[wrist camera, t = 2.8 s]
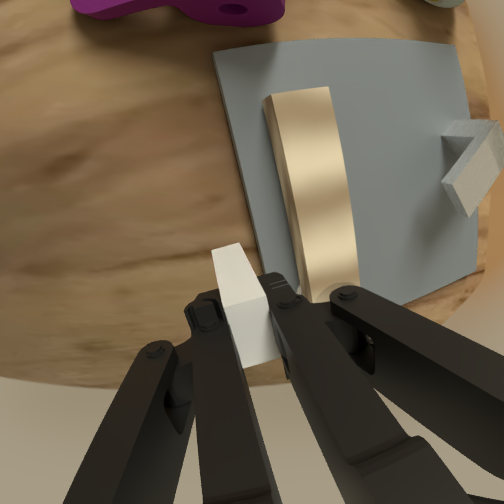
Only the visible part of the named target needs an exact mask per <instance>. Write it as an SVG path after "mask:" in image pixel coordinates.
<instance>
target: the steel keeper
mask: <svg viewBox="0 0 504 504" xmlns="http://www.w3.org/2000/svg"><path fill="white" fill-rule="evenodd" d="M441 137H442V138H443V140H444V142H445V143H446V145H447V147H448V149H449V151H450V152H451V154H452V156H453V158H454V160H455V162H456V163H455V164H454V166H453V167H452V168H451V169H450V171H449V172H448V173H447V175H446V176H445V177H444V178H443V180H442V181H441V183H442V185H443V187H444V189H445V191H446V192H447V194H448V196H449V198H450V200H451V202H452V204H453V206H454V207H455V209H456V211H457V213H458V215H461V216H464V217H467V218H469V217H470V216H471V215H472V213H473V212H474V210H475V209H476V208H477V206H478V205H479V203H480V202H481V201H482V199H483V198H484V196H485V195H486V193H487V192H488V190H489V189H490V187H491V186H492V184H493V183H494V181H495V179H496V178H497V176H498V175H499V173H500V172H501V170H502V169H503V167H504V133H503V131H502V129H501V126H500V124H499V122H498V120H453V121H452V122H451V124H450V125H449V126H448V127H447V129H446V130H445V131H444V132H443V134H442V135H441Z"/></svg>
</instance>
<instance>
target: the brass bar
mask: <svg viewBox="0 0 504 504" xmlns="http://www.w3.org/2000/svg"><path fill="white" fill-rule="evenodd" d="M262 104H263V108H264V112H265V116H266V121H267V125H268V129H269V134H270V138H271V142H272V147H273V151H274V156H275V160H276V165H277V169H278V174H279V179H280V183H281V188H282V193H283V198H284V203H285V207H286V212H287V217H288V222H289V227H290V232H291V237H292V242H293V248H294V253H295V258H296V263H297V269H298V274H299V280H300V285H301V291H302V292H301V295H303V296H304V297H306V298H307V300H308V301H309V302H310V303H321V302H328V301H330V299H329V295H330V294H331V292H332V291H334V290H335V289H337V288H340V287H342V286H346V285H353V286H359V287H360V278H359V268H358V258H357V249H356V240H355V232H354V224H353V216H352V209H351V202H350V195H349V189H348V183H347V177H346V171H345V165H344V159H343V154H342V148H341V143H340V138H339V133H338V128H337V123H336V118H335V113H334V109H333V104H332V100H331V96H330V91H329V87H328V86H327V87H318V88H310V89H302V90H295V91H288V92H282V93H276V94H271V95H269V96H268V97H266V98H265V99H263V100H262Z"/></svg>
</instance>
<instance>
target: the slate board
mask: <svg viewBox="0 0 504 504" xmlns="http://www.w3.org/2000/svg"><path fill="white" fill-rule="evenodd" d="M212 59H213V63H214V67H215V71H216V75H217V80H218V84H219V88H220V92H221V96H222V100H223V104H224V108H225V113H226V117H227V121H228V125H229V129H230V133H231V138H232V142H233V146H234V150H235V154H236V158H237V163H238V167H239V171H240V175H241V179H242V184H243V188H244V192H245V196H246V200H247V205H248V209H249V213H250V217H251V222H252V226H253V230H254V234H255V239H256V243H257V247H258V251H259V256H260V260H261V264H262V269H263V273H264V274H268V273H271V272H277V273H280V274H282V275H283V276H284V278H285V279H286V280H287V282H288V283H289V284H290V286H291V287H292V289H293V290H294V291H295V293H296V290H297V287H298V284H299V282H300V280H299V274H298V269H297V263H296V258H295V253H294V248H293V242H292V237H291V232H290V227H289V222H288V217H287V212H286V207H285V203H284V198H283V193H282V188H281V183H280V179H279V174H278V169H277V165H276V160H275V156H274V151H273V147H272V142H271V138H270V134H269V129H268V125H267V121H266V116H265V112H264V108H263V104H262V100H263V99H265V98H266V97H268V96H269V95H271V94H276V93H282V92H288V91H295V90H302V89H310V88H318V87H327V86H328V87H329V91H330V96H331V100H332V104H333V109H334V113H335V118H336V123H337V128H338V133H339V138H340V143H341V148H342V154H343V159H344V165H345V171H346V177H347V183H348V189H349V195H350V202H351V209H352V216H353V224H354V232H355V240H356V249H357V258H358V268H359V278H360V287H362V288H365V289H367V290H369V291H371V292H373V293H375V294H377V295H379V296H381V297H383V298H386V299H388V300H390V301H392V302H394V303H396V304H398V305H400V306H401V305H403V304H406V303H408V302H410V301H413V300H415V299H417V298H419V297H422V296H424V295H426V294H428V293H431V292H433V291H435V290H437V289H439V288H441V287H444V286H446V285H448V284H450V283H452V282H454V281H456V280H458V279H460V278H462V277H464V276H466V275H468V274H470V273H472V272H474V271H476V264H477V244H478V206H477V208H476V209H475V210H474V212H473V213H472V215H471V216H470V217H469V218H467V217H464V216H461V215H458V213H457V211H456V209H455V207H454V206H453V204H452V202H451V200H450V198H449V196H448V194H447V192H446V191H445V189H444V187H443V185H442V183H441V181H442V180H443V178H444V177H445V176H446V175H447V173H448V172H449V171H450V169H451V168H452V167H453V166H454V164H455V163H456V162H455V160H454V158H453V156H452V154H451V152H450V151H449V149H448V147H447V145H446V143H445V142H444V140H443V138H442V137H441V135H442V134H443V132H444V131H445V130H446V129H447V127H448V126H449V125H450V124H451V122H452V121H453V120H471V119H470V113H469V107H468V101H467V96H466V91H465V86H464V81H463V76H462V72H461V68H460V64H459V60H458V56H457V52H456V48H455V45H449V44H441V43H433V42H425V41H414V40H401V39H383V38H327V39H308V40H295V41H284V42H275V43H266V44H259V45H251V46H245V47H238V48H232V49H227V50H221V51H216V52H213V55H212Z"/></svg>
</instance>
